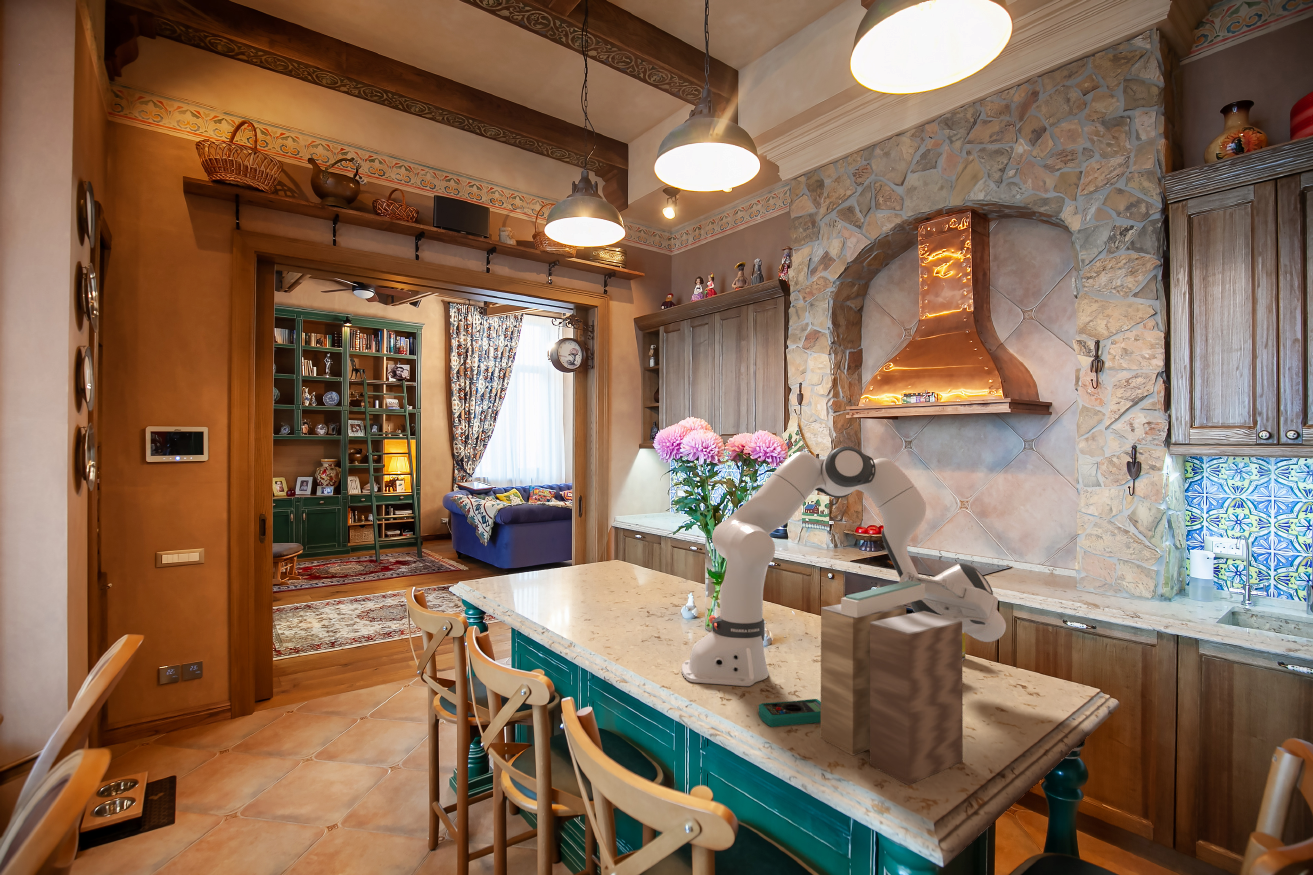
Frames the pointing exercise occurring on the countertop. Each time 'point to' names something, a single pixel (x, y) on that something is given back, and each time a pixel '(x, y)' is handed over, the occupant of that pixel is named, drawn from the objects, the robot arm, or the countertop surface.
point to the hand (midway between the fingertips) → (925, 578)
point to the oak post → (847, 677)
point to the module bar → (882, 598)
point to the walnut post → (916, 695)
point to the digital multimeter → (790, 712)
